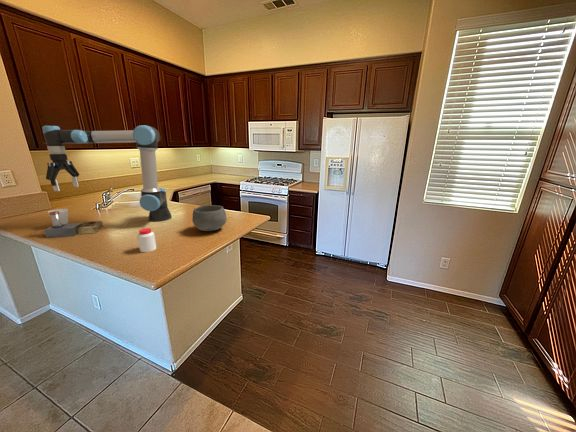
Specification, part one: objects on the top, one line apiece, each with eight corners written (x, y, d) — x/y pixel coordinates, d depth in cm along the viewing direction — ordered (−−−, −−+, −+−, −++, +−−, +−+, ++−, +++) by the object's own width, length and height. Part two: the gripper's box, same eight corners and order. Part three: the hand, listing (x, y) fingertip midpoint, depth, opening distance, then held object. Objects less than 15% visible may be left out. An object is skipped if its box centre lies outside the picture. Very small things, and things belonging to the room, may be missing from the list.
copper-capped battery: (66, 232, 147) (60, 211, 143) (61, 235, 143) (55, 213, 139) (58, 233, 146) (52, 211, 142) (53, 235, 142) (47, 213, 138)
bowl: (233, 227, 161) (232, 206, 157) (211, 238, 143) (209, 214, 138) (209, 223, 169) (207, 202, 165) (186, 232, 151) (183, 209, 147)
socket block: (83, 230, 152) (82, 223, 150) (74, 236, 142) (72, 228, 141) (58, 231, 149) (56, 224, 147) (46, 237, 139) (44, 229, 138)
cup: (60, 229, 152) (55, 213, 149) (48, 228, 154) (43, 212, 151) (76, 224, 162) (72, 209, 159) (64, 223, 164) (60, 208, 160)
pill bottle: (144, 246, 130) (141, 227, 127) (159, 246, 130) (156, 227, 127) (136, 252, 122) (133, 232, 119) (152, 252, 123) (149, 232, 120)
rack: (103, 226, 159) (101, 220, 158) (96, 230, 151) (95, 224, 150) (85, 227, 157) (84, 221, 156) (78, 231, 149) (76, 225, 148)
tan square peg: (98, 231, 151) (96, 225, 149) (95, 233, 147) (93, 227, 146) (78, 232, 148) (76, 226, 147) (74, 234, 145) (72, 228, 144)
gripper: (69, 152, 152) (77, 185, 159) (29, 154, 129) (41, 192, 135) (81, 152, 153) (89, 185, 159) (43, 154, 129) (54, 192, 135)
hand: (67, 188), depth 147 cm, fingers open, 13 cm apart
